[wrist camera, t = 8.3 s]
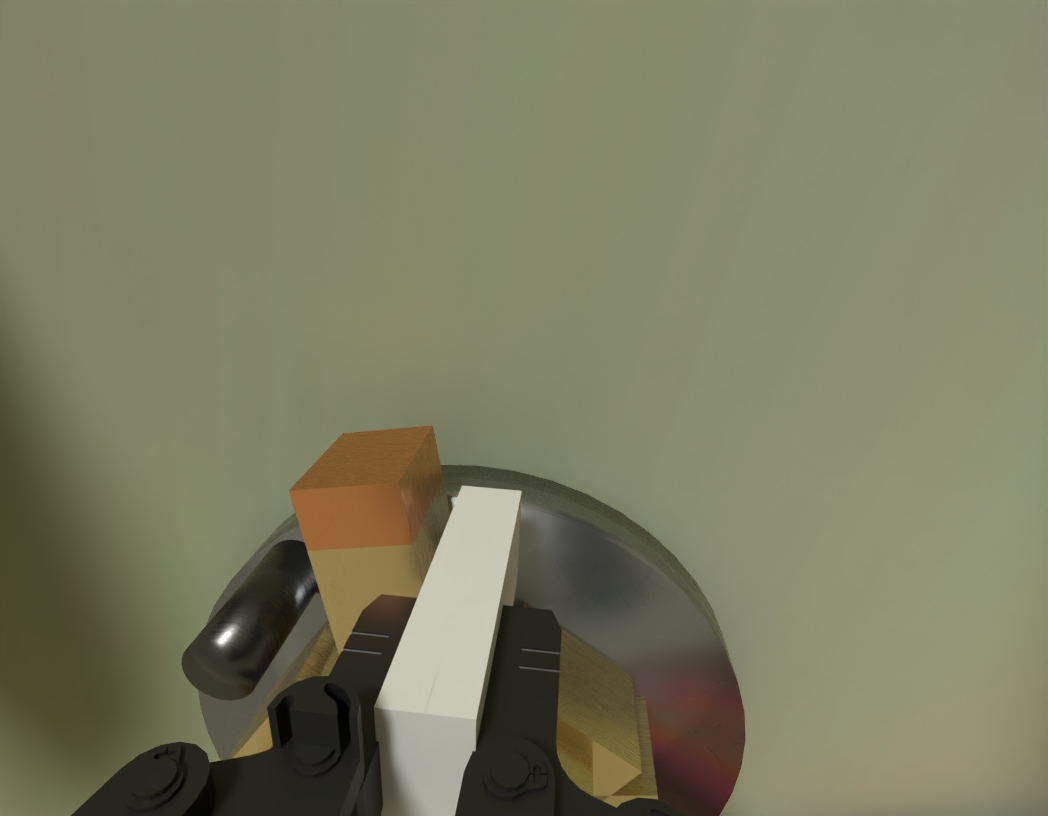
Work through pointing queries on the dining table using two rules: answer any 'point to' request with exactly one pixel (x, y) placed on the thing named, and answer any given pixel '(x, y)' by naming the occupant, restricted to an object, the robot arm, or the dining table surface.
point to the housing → (542, 582)
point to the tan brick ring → (400, 569)
